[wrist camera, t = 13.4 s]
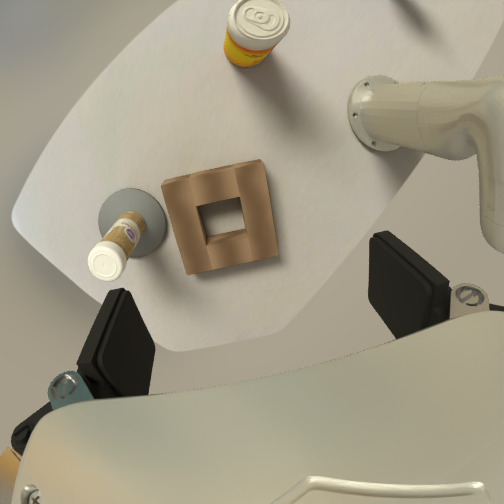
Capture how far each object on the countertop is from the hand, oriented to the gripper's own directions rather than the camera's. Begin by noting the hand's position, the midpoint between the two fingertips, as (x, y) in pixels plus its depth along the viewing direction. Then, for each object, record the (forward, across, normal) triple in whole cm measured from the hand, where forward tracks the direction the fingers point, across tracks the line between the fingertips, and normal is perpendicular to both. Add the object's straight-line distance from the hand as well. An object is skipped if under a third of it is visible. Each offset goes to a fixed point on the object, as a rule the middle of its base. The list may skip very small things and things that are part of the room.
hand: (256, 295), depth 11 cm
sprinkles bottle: (+34, +16, +6) cm, 38 cm away
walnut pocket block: (+34, +2, +8) cm, 35 cm away
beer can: (+34, -6, -16) cm, 38 cm away
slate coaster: (+34, +16, +6) cm, 38 cm away
